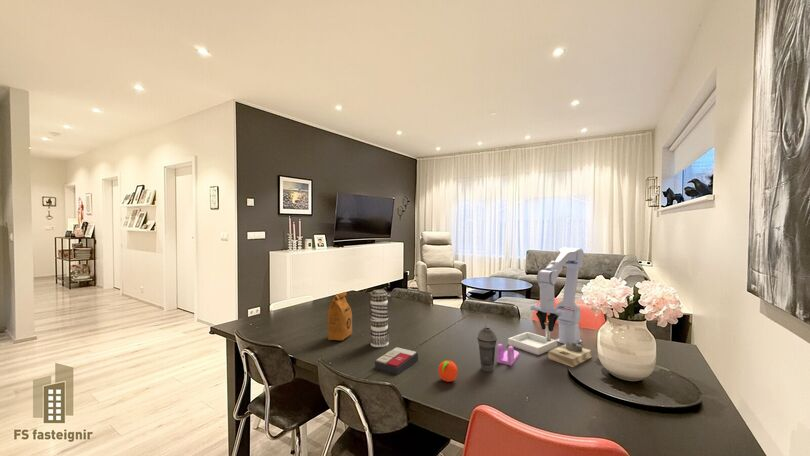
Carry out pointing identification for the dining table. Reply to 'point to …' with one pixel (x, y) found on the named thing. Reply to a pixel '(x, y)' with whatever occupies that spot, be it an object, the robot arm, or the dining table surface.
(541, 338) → the tray
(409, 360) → the flat product box
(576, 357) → the block
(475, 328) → the dining table surface
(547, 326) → the pin
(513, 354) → the bracket
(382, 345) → the grey striped cylinder
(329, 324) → the coffee package
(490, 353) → the beverage cup
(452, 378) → the clementine
